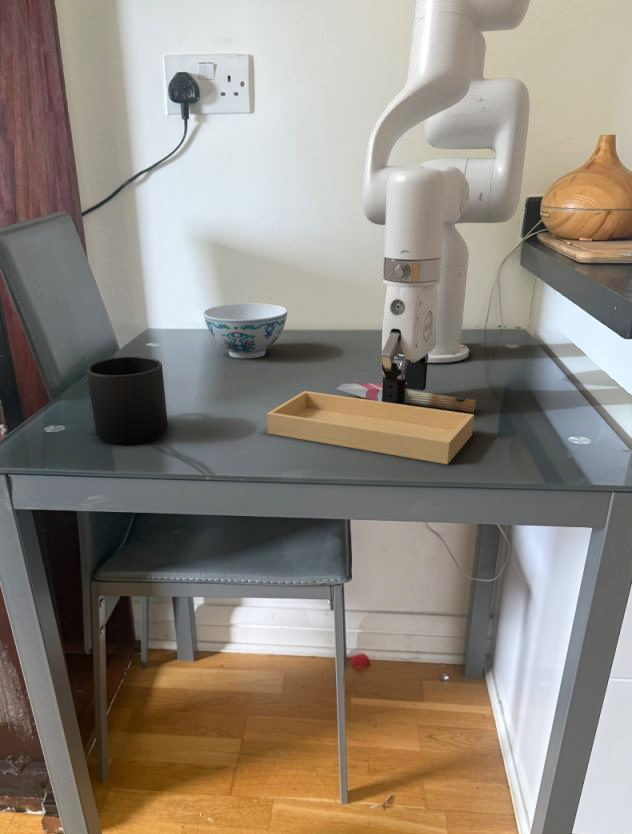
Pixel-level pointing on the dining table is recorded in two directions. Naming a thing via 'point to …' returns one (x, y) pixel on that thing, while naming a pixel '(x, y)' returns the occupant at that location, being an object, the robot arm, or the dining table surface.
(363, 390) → the folding fan
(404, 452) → the brush tray
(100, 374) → the mug
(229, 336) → the chinaware
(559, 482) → the dining table surface
